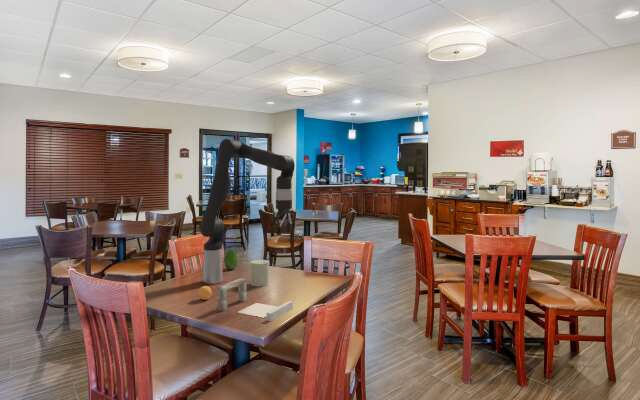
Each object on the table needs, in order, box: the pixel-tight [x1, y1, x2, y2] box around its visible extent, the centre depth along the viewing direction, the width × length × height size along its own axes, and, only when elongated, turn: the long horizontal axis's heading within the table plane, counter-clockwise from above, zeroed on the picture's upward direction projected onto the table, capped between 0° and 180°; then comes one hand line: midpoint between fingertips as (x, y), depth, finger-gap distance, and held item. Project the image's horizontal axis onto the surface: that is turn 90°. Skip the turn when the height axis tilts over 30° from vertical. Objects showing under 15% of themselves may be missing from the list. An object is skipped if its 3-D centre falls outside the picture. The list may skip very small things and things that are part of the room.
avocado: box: [223, 248, 239, 270], centre depth 231 cm, size 8×8×12 cm
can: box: [250, 259, 270, 287], centre depth 199 cm, size 9×9×12 cm
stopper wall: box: [266, 300, 294, 322], centre depth 156 cm, size 2×16×3 cm, turn 153°
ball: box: [197, 285, 213, 301], centre depth 174 cm, size 6×6×6 cm
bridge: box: [217, 277, 248, 312], centre depth 167 cm, size 3×15×10 cm, turn 153°
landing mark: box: [236, 302, 277, 319], centre depth 161 cm, size 13×13×1 cm
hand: (283, 233), depth 181 cm, fingers open, 8 cm apart
